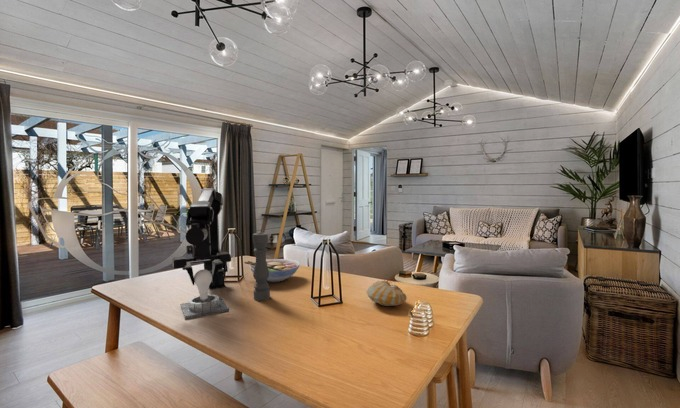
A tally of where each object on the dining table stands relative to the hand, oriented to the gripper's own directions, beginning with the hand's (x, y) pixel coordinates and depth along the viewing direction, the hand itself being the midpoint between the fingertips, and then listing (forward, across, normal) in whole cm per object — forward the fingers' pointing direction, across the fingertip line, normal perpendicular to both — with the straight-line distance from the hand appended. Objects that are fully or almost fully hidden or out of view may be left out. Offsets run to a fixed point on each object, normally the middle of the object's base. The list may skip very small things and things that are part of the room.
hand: (203, 283), depth 122 cm
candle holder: (+9, -21, 0) cm, 23 cm away
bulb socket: (+9, 0, 0) cm, 9 cm away
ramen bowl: (+10, -34, -21) cm, 41 cm away
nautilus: (+9, -59, +30) cm, 67 cm away
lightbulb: (+6, 0, 0) cm, 6 cm away
